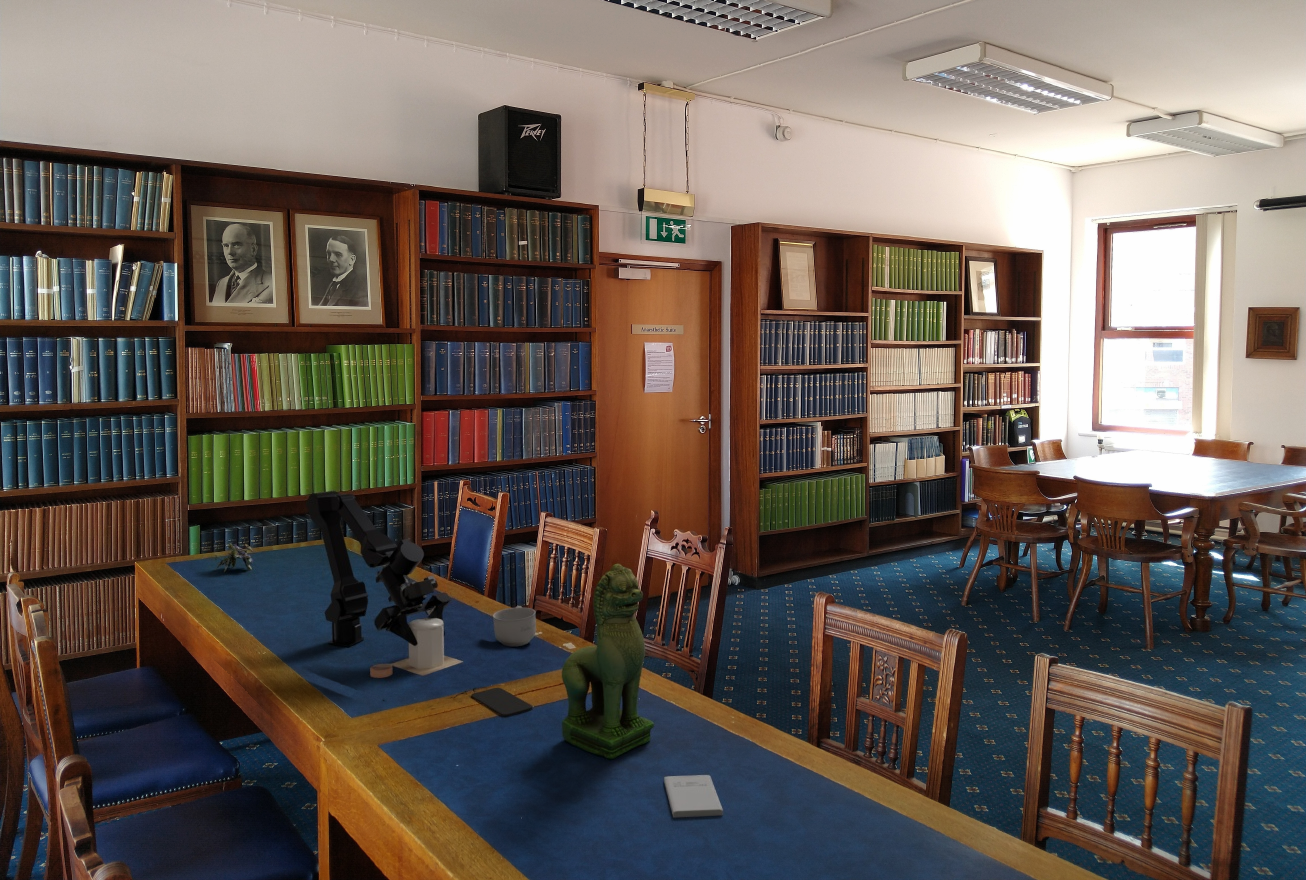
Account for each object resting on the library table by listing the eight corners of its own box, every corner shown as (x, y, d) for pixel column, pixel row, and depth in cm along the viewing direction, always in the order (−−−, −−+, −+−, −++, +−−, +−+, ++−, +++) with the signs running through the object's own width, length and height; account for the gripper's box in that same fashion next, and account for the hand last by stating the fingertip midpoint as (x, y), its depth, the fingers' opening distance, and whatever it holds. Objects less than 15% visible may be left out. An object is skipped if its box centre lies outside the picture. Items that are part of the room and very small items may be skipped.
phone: (499, 686, 205) (535, 706, 193) (499, 690, 205) (535, 710, 193) (468, 694, 200) (503, 715, 189) (469, 697, 200) (503, 719, 189)
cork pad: (389, 670, 215) (389, 664, 215) (430, 656, 225) (430, 650, 225) (422, 682, 208) (422, 675, 208) (463, 667, 218) (463, 661, 217)
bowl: (366, 682, 208) (365, 669, 207) (378, 675, 212) (378, 662, 212) (384, 685, 206) (384, 671, 206) (396, 677, 210) (396, 664, 210)
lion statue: (614, 764, 168) (615, 575, 164) (550, 739, 178) (550, 561, 175) (661, 740, 178) (663, 562, 175) (598, 718, 189) (599, 549, 185)
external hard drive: (673, 820, 149) (663, 784, 162) (723, 818, 150) (710, 782, 163) (673, 811, 149) (664, 775, 162) (723, 808, 150) (710, 773, 162)
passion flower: (249, 585, 310) (261, 560, 306) (215, 585, 303) (227, 558, 298) (241, 561, 317) (254, 536, 312) (208, 560, 309) (220, 534, 305)
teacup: (527, 651, 230) (527, 619, 229) (486, 648, 232) (486, 616, 231) (545, 634, 243) (545, 604, 243) (506, 631, 246) (506, 602, 245)
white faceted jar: (424, 670, 211) (423, 630, 210) (402, 663, 216) (401, 623, 215) (450, 661, 217) (450, 622, 216) (429, 654, 222) (428, 615, 221)
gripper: (380, 574, 209) (412, 631, 203) (445, 559, 224) (477, 612, 218) (360, 602, 215) (391, 658, 209) (425, 586, 229) (455, 638, 224)
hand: (430, 640), depth 215 cm, fingers closed on white faceted jar, 8 cm apart
